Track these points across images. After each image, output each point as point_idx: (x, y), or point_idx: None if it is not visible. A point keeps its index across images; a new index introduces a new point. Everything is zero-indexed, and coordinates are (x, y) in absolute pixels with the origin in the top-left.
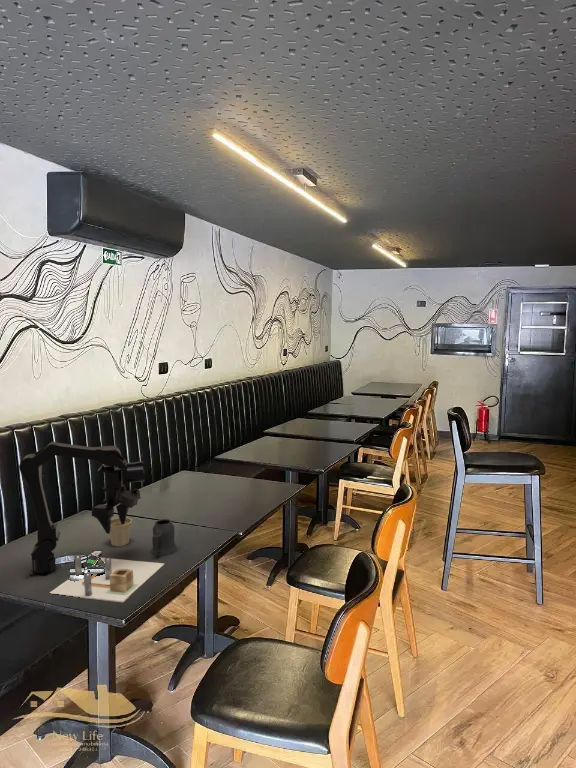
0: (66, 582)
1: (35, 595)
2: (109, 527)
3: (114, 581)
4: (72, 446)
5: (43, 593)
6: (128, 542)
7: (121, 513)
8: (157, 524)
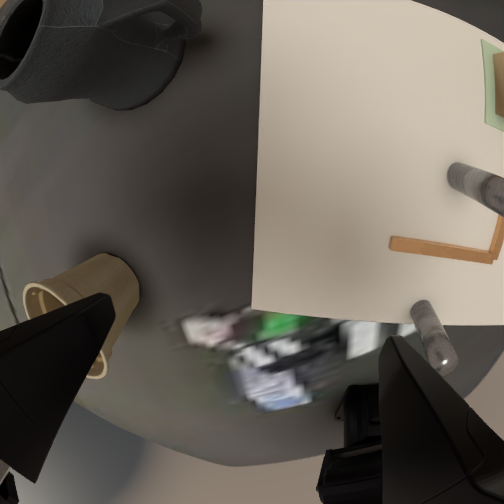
0: (463, 318)
1: (497, 348)
2: (440, 382)
3: None
4: None
5: (495, 338)
6: (100, 254)
7: (50, 382)
8: (41, 28)
